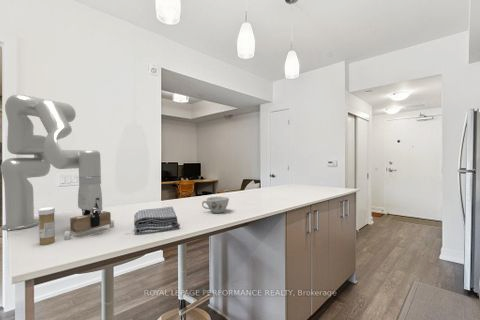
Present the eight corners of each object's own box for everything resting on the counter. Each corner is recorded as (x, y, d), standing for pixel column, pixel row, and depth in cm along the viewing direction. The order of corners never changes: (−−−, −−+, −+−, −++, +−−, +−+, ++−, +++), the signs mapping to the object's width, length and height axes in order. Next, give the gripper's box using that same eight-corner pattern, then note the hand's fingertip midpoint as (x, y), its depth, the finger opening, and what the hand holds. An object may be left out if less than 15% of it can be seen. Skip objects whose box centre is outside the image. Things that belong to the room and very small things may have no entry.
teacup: (226, 209, 140) (226, 195, 140) (231, 214, 128) (230, 199, 128) (201, 210, 136) (201, 196, 136) (203, 215, 124) (202, 200, 124)
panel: (49, 237, 93) (49, 228, 93) (101, 224, 110) (101, 216, 110) (69, 245, 85) (69, 234, 85) (121, 229, 102) (121, 221, 102)
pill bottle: (37, 245, 85) (36, 208, 84) (53, 242, 88) (52, 206, 88) (40, 248, 82) (39, 210, 81) (57, 244, 85) (56, 207, 85)
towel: (134, 226, 108) (133, 209, 108) (175, 221, 116) (174, 205, 115) (134, 236, 94) (133, 217, 94) (180, 230, 102) (180, 212, 102)
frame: (70, 230, 91) (70, 217, 91) (104, 222, 103) (103, 210, 103) (76, 232, 89) (76, 219, 89) (110, 224, 100) (110, 211, 100)
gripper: (69, 180, 97) (70, 225, 97) (91, 182, 88) (93, 231, 88) (88, 179, 103) (89, 220, 103) (111, 180, 94) (112, 225, 95)
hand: (91, 224), depth 96 cm, fingers closed on frame, 5 cm apart
